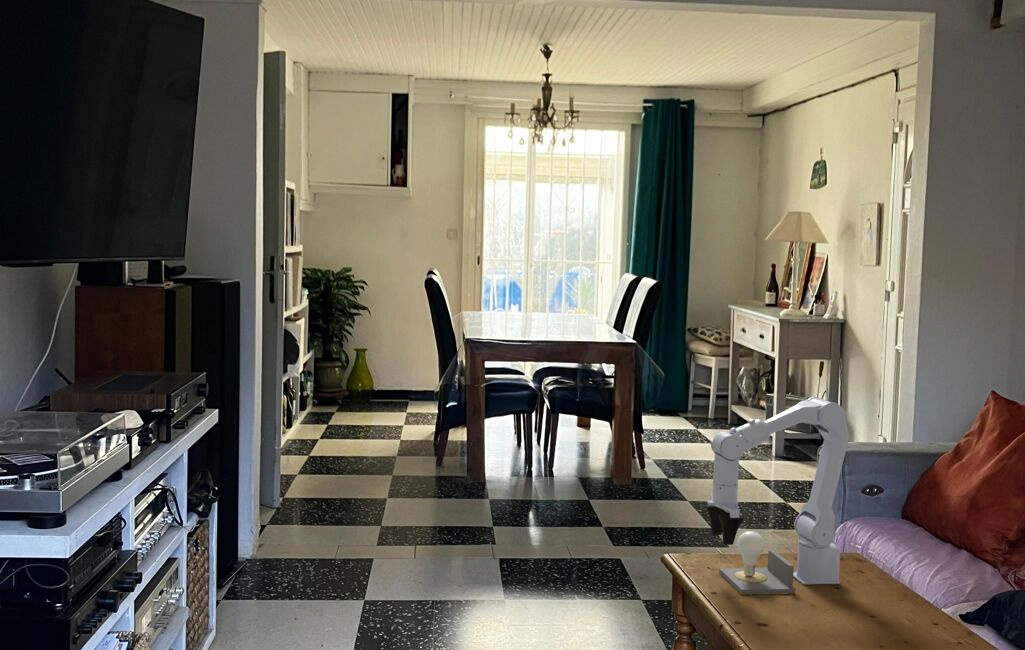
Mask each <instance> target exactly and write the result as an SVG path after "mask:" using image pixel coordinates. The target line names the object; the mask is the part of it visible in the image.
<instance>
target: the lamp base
mask: <svg viewBox="0 0 1025 650" xmlns="http://www.w3.org/2000/svg"><path fill="white" fill-rule="evenodd" d="M767 551H768V553H767V554H768V555H767V567H755V575H754V576H751V577H748V576H746V575H745V574H744V567H737V568H736V567H733V568H730V567H729V568H727V567H726V568H718V574H719V573H720V574H721V575H722V576H723V577H724V579H725V581H726V582H728V584H729V585H731V586H732V588H734V587H735V588H734V589H735V591H737V592H738V593H739V594H740V593H741V594H740V595H741V596H746V595H745V594H750V596H751V595H752V594H760V595H765V594H764V593H775V594H774V595H782V594H781V593H785V594H784V595H787V594H786V593H795V594H796V588H795V587H794V585H793V584H794V577H793V572H795V570H794V568H795V565H794V564H792V563H791V562H790V561H788V560H787V559H786V558H784V556H782V555H781V554H779V553H778V552H777V551H775V550H774V549H768V550H767ZM720 574H719V575H720ZM721 575H720V576H721ZM722 576H721V577H722ZM723 577H722V578H723ZM776 593H777V594H776Z"/></svg>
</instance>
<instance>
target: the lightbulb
mask: <svg viewBox="0 0 1025 650" xmlns="http://www.w3.org/2000/svg"><path fill="white" fill-rule="evenodd" d="M736 546H737V549H738V550H737V551H738V552H739V554H740V555H741V558H742V563H743V568H744V574H745V575H746V576H748V577H751V576H754V575H755V568H756V565H757V563H758V559H759V558H760V556H761V555H762V553H763V552H764V549H765V540H764V538H763V536H761V534H760V533H758V532H757V531H753V530H746V531H744V532H742V533H741V534H740V535H739V536H738V538H737V541H736Z"/></svg>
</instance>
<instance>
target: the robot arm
mask: <svg viewBox="0 0 1025 650" xmlns="http://www.w3.org/2000/svg"><path fill="white" fill-rule="evenodd" d="M847 418H848V414H847V412H846V410H845V409H844V408H843V407H842V406H841V405H840V404H839V403H837V402H833V401H829V400H825V399H824V398H823V399H822V398H821V397H819V396H811V397H809V398H807V399H804V400H801V401H799V402H797V404H795V405H793V406H791V407H789V408H787V409H786V410H785V409H784V410H783V411H781V412H779V413H777V414H775V415H774V416H771V417H770V418H768V419H766V420H764V421H763V420H761V419H758V418H757V419H755V418H749V419H748V420H747V423H745V424H743V425H740V426H738V427H731V428H730V429H729V432H728V431H721V432H718V433H716V435H715V436H713V439H712V442H710V447H711V451H713V452H714V462H713V478H712V479H713V480H712V493H710V494H709V495H710V496H709V500H707V504H705V506H704V507H705V510H706V512H707V514H708V518H709V522H710V529H711V535H713V536H722V543H723V545H725V546H733V545H734V543H735V539H736V536H737V533H738V530H739V528H740V527H741V525H742V523H743V522H744V520H745V519H744V516H742V515H740V512H741V511H740V509H739V504H738V503H739V502H738V501H737V500H738V489H739V488H738V487H739V471H740V470H739V467H740V465H739V464H740V463H739V462H740V458H741V457H742V456H743V455H744V452H746V451H748V450H751V449H753V448H755V447H758V446H760V445H761V444H764V443H766V442H768V441H769V440H770V436H771V435H772V434H774V433H777V432H780V431H782V430H785V429H787V428H790V427H793V426H795V425H798V424H802V423H804V424H808V425H813V426H814V427H815V428H816V429H817V430H818V432H819V433H820V435H821V436H822V437H823V443H822V447H821V451H820V455H819V458H818V459H819V460H818V463H817V468H816V469H815V470H816V471H815V475H814V478H813V482H812V487H811V491H810V494H809V499H808V500H807V502H806V503H805V504H803V505H802V506H801V510H800V513H799V514H798V515H797V516H796V517H795V520H794V523H793V527H794V530H795V532H796V533H797V535H798V539H797V543H798V544H797V561H796V571H794V572H793V578H794V579H795V580H797V581H798V582H800V584H803V585H838V584H839V585H840V584H841V581H840V580H839V579H840V566H841V565H840V564H841V553H840V549H839V547H838V545H837V544H836V543H833V542H834V541H835V538H836V534H837V533H836V527H835V525H836V524H835V523H836V520H837V519H836V517H835V513H834V511H833V503H834V499H835V495H836V492H837V488H838V484H839V480H840V476H841V472H842V469H843V468H842V467H843V464H844V460H845V456H846V453H847V448H848V443H849V439H850V433H849V429H848V423H847Z"/></svg>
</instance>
